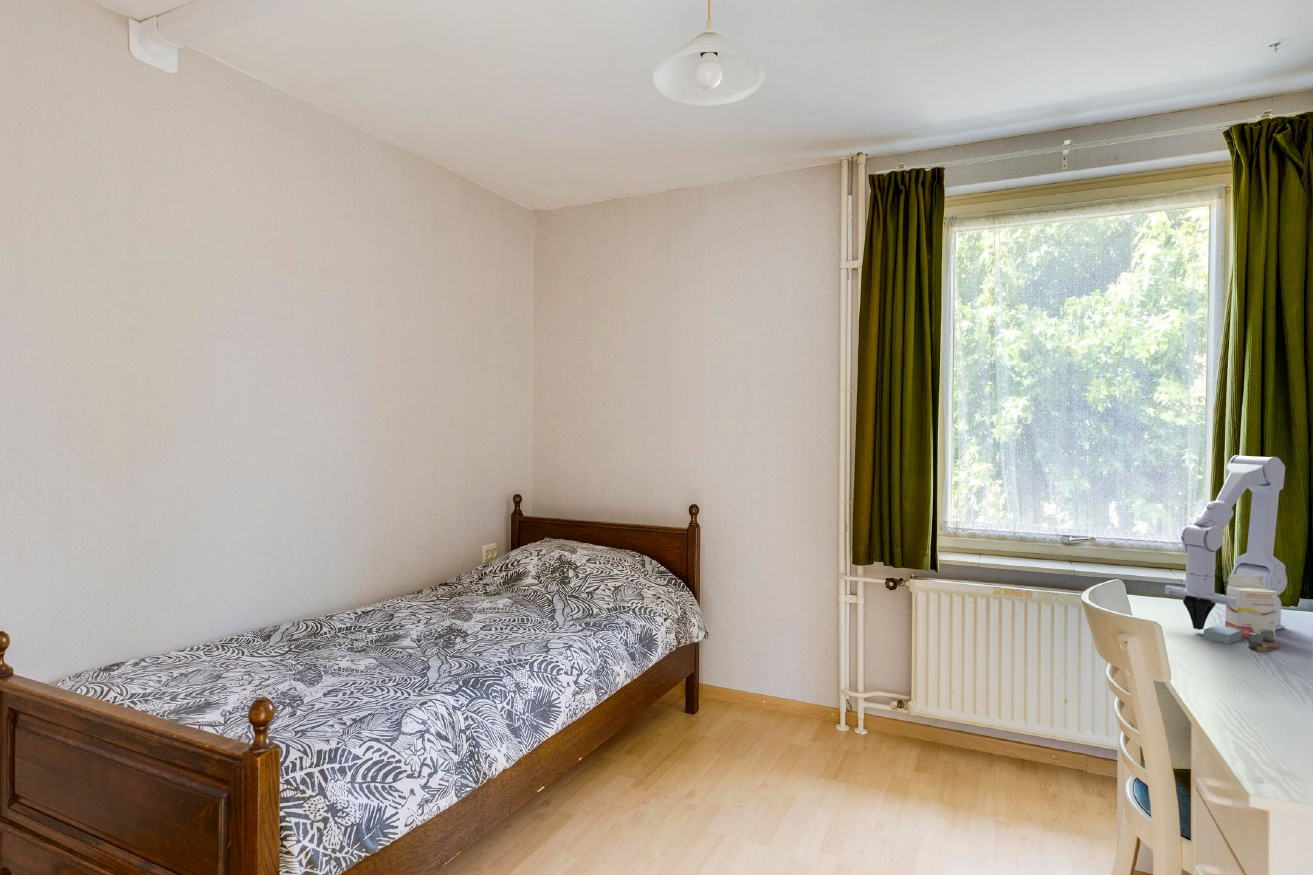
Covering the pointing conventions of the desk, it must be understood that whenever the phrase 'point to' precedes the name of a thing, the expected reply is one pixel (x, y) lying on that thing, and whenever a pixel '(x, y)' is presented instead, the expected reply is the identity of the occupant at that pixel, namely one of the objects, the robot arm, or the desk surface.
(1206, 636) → the pale blue chamfered block
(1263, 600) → the ink cartridge box
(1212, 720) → the desk surface
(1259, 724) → the desk surface
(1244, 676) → the desk surface
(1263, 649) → the bench dogs
